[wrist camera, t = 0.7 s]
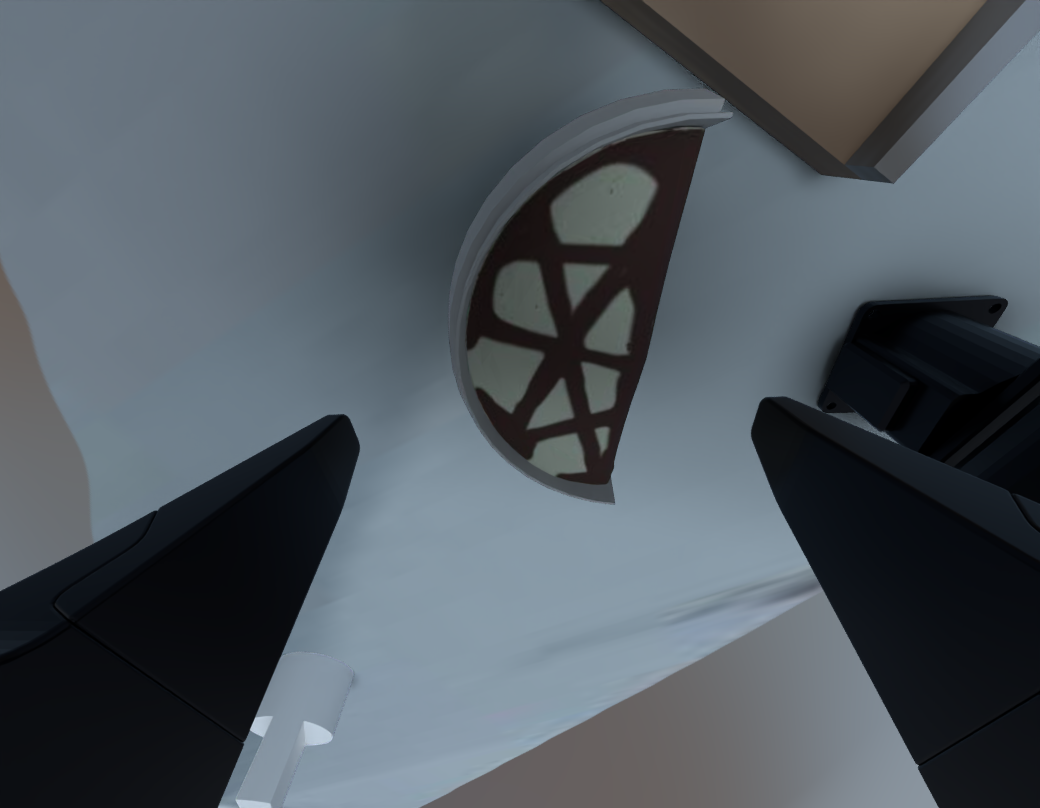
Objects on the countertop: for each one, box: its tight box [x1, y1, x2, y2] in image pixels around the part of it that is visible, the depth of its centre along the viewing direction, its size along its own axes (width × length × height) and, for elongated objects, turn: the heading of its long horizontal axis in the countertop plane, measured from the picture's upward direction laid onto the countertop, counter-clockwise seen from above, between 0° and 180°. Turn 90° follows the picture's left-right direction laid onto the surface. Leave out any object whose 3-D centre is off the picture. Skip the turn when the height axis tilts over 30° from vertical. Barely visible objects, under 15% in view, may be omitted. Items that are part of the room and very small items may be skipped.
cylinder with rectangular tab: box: [235, 652, 354, 808], centre depth 42 cm, size 9×9×12 cm
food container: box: [448, 88, 733, 505], centre depth 15 cm, size 12×6×10 cm, turn 176°
